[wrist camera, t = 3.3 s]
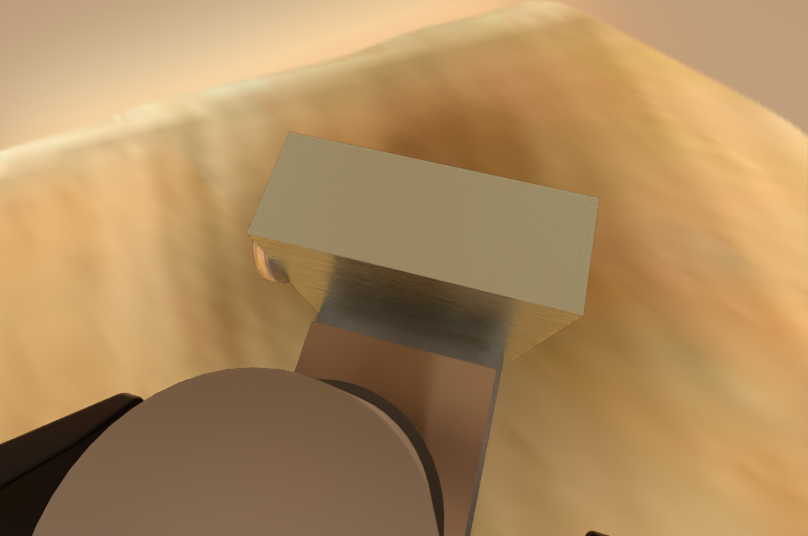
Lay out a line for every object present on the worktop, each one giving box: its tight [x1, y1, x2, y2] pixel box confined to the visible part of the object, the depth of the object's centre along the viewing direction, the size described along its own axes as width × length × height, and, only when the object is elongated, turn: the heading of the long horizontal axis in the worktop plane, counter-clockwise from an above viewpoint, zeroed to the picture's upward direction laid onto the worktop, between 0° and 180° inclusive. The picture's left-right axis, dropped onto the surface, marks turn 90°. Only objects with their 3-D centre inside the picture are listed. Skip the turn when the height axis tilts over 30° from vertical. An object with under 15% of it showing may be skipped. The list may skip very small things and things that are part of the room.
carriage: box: [32, 321, 497, 536], centre depth 9 cm, size 7×6×12 cm
